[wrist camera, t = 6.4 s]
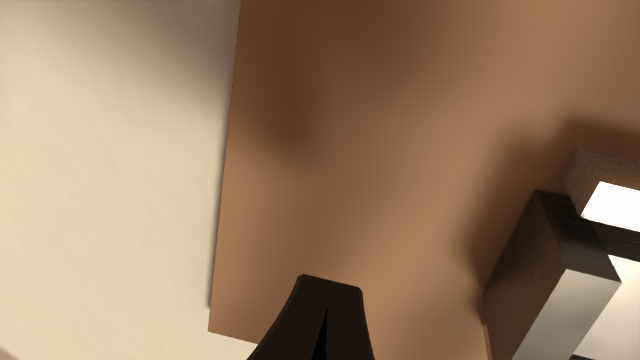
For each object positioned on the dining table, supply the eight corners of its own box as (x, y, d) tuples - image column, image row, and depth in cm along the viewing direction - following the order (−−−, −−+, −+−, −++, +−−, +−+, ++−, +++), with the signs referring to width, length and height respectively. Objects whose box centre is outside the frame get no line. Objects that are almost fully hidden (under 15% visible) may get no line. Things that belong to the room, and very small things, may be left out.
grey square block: (461, 336, 17) (470, 426, 14) (535, 189, 14) (566, 269, 11) (648, 383, 16) (695, 484, 14) (768, 245, 13) (859, 341, 11)
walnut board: (215, 315, 19) (207, 331, 19) (259, -94, 12) (250, -92, 11) (683, 434, 19) (694, 455, 18) (1038, 84, 11) (1078, 98, 11)
